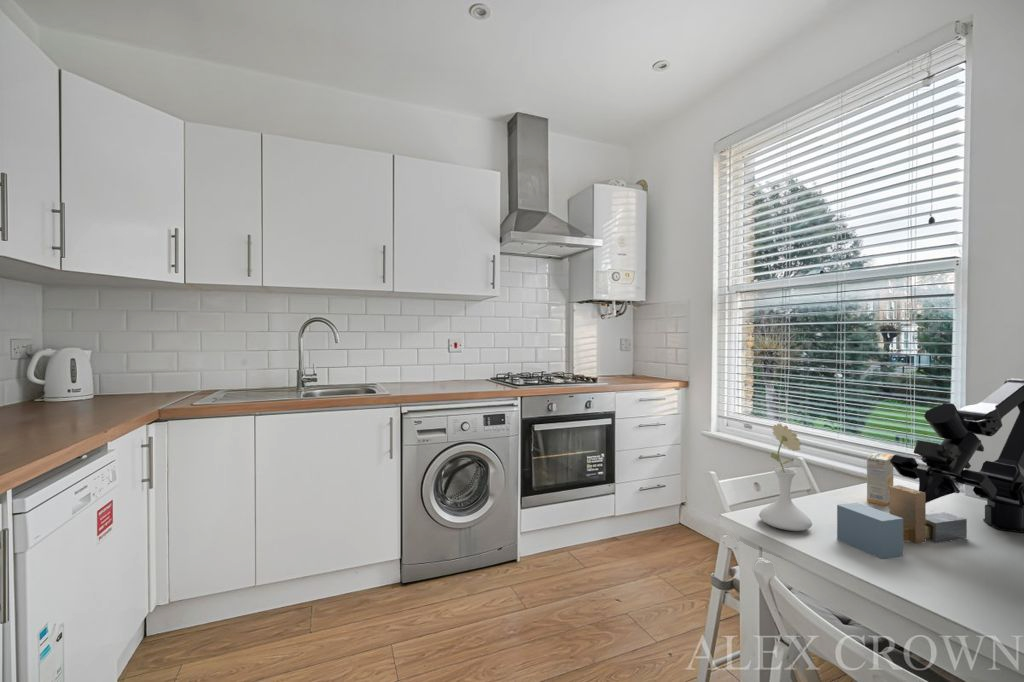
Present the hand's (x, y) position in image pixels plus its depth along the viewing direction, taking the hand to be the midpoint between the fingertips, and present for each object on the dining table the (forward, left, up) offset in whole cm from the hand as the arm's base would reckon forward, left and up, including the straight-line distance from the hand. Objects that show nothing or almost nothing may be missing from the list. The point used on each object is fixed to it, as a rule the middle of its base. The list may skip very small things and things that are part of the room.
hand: (920, 502), depth 106 cm
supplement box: (-2, -29, -9) cm, 30 cm away
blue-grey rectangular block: (+13, +9, -9) cm, 18 cm away
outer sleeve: (-5, -4, -9) cm, 11 cm away
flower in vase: (+28, +1, -9) cm, 29 cm away
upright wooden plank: (+1, 0, -8) cm, 8 cm away
